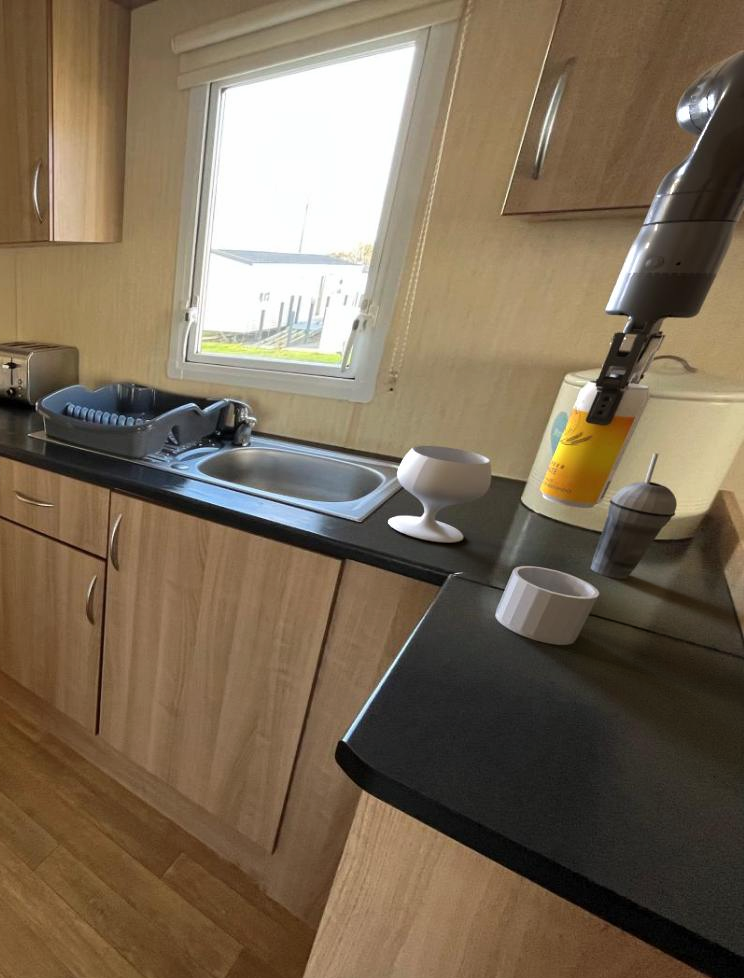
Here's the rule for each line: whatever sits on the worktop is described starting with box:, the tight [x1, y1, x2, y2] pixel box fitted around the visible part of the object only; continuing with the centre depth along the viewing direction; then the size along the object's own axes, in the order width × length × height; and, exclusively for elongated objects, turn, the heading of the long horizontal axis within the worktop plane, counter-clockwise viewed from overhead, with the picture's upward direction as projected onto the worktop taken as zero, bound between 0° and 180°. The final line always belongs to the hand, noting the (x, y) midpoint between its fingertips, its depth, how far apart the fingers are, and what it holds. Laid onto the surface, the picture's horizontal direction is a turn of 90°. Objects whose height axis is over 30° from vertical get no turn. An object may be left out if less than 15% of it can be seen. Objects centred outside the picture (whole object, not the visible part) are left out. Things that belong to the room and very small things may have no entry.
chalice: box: [387, 445, 492, 543], centre depth 101 cm, size 14×14×15 cm
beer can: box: [539, 380, 651, 509], centre depth 69 cm, size 6×6×15 cm
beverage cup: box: [590, 452, 678, 580], centre depth 86 cm, size 7×7×20 cm
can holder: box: [494, 565, 600, 646], centre depth 73 cm, size 9×9×7 cm
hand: (602, 420), depth 67 cm, fingers closed on beer can, 6 cm apart
